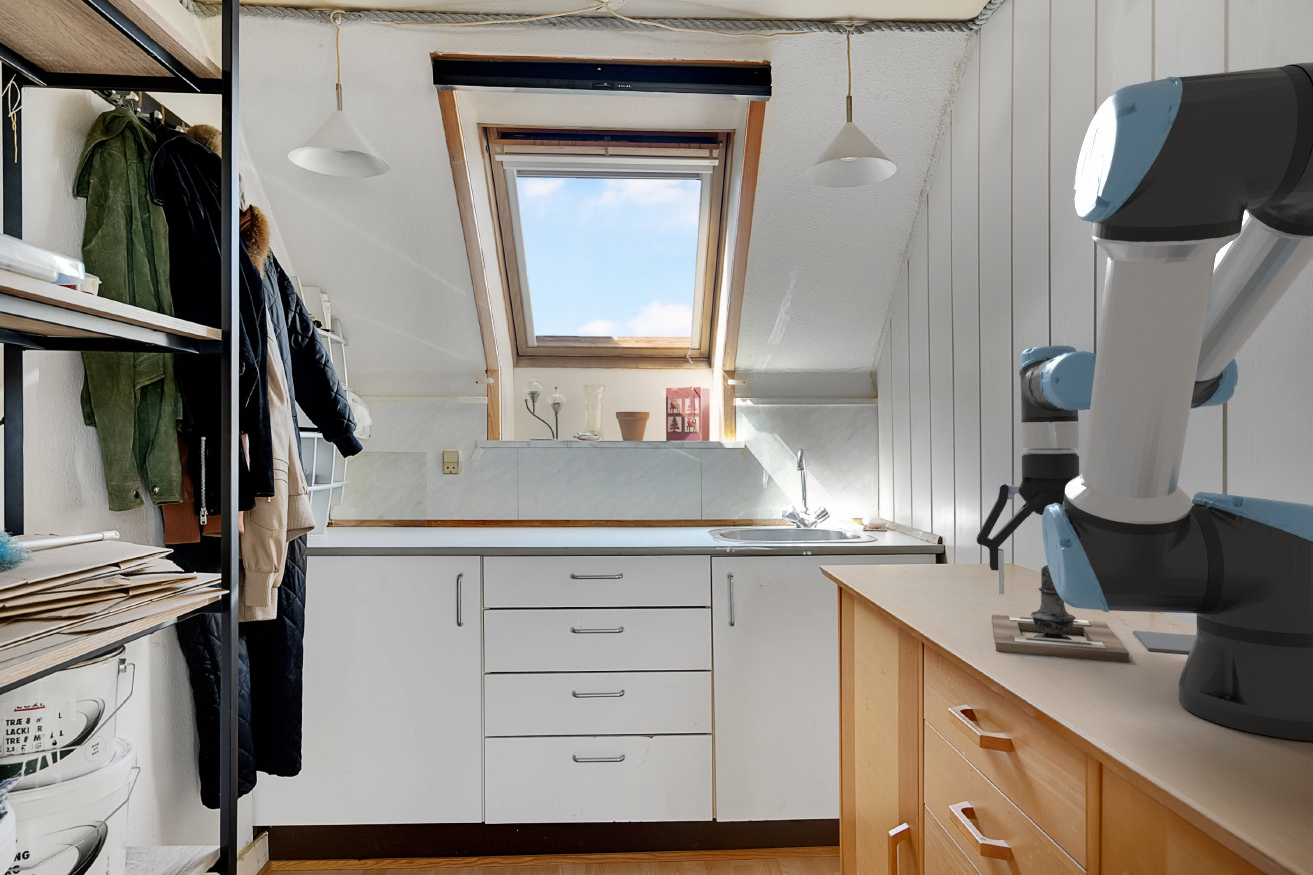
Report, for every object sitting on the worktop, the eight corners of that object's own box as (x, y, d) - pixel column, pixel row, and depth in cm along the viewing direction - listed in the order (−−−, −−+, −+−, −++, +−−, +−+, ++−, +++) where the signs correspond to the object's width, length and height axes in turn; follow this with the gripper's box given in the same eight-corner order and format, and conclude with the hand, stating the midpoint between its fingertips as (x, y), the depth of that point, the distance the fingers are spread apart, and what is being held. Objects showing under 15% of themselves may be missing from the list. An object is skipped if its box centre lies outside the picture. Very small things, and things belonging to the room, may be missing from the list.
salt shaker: (1084, 645, 107) (1083, 561, 107) (1043, 645, 107) (1041, 561, 107) (1062, 634, 113) (1061, 555, 113) (1023, 634, 113) (1022, 555, 113)
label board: (1128, 661, 99) (1128, 650, 99) (996, 650, 105) (995, 639, 105) (1105, 629, 115) (1105, 620, 115) (991, 621, 121) (991, 612, 121)
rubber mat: (1235, 657, 100) (1235, 654, 100) (1148, 650, 104) (1148, 647, 104) (1212, 639, 109) (1212, 636, 109) (1133, 633, 113) (1133, 630, 113)
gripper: (1143, 450, 109) (1145, 595, 109) (958, 451, 118) (960, 584, 119) (1155, 452, 102) (1157, 606, 102) (958, 453, 112) (960, 594, 112)
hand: (1051, 595), depth 110 cm, fingers open, 13 cm apart
